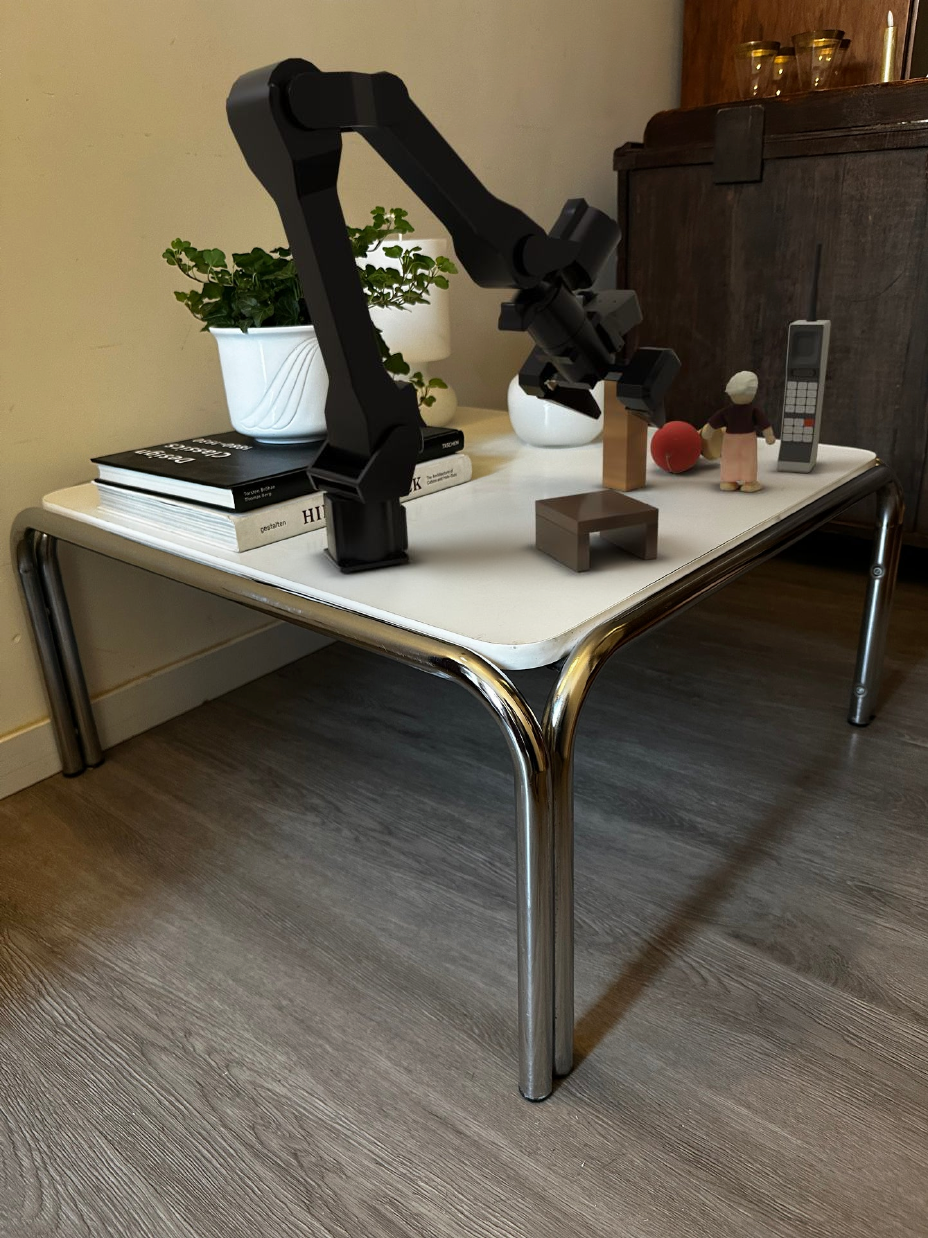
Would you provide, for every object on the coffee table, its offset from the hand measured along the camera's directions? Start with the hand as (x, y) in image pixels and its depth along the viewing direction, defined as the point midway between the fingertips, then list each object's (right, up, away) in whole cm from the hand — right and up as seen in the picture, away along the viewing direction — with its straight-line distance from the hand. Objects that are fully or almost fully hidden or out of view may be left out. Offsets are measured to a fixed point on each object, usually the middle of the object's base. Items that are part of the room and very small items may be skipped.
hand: (629, 420), depth 103 cm
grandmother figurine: (+12, -8, 0) cm, 14 cm away
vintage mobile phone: (+21, -4, +7) cm, 23 cm away
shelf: (-7, -16, -20) cm, 26 cm away
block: (0, -7, +2) cm, 7 cm away
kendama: (+10, -3, +12) cm, 16 cm away
